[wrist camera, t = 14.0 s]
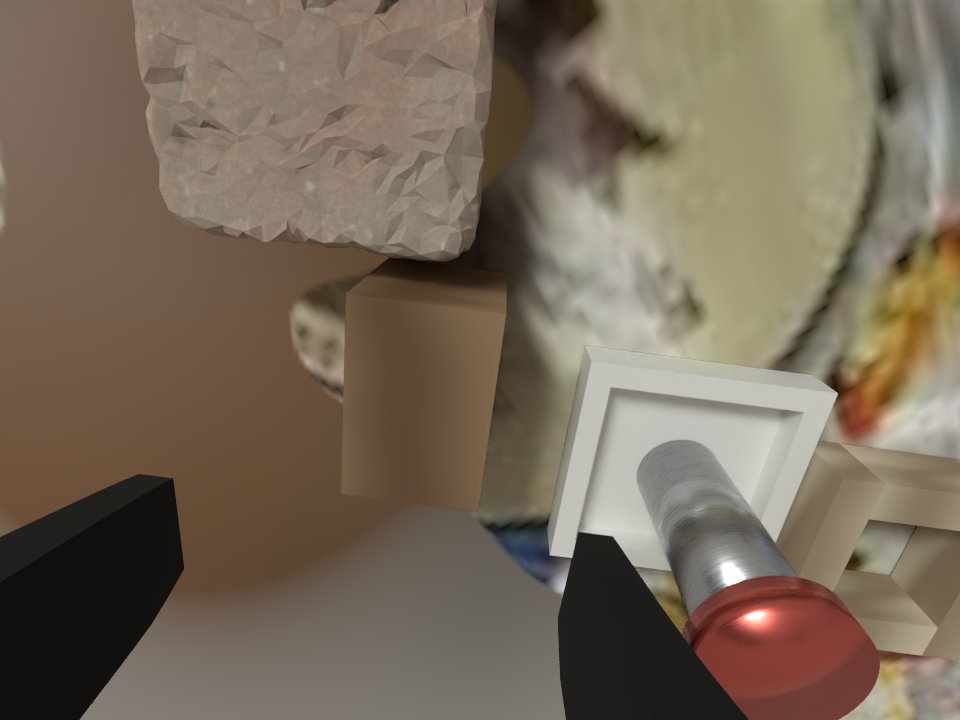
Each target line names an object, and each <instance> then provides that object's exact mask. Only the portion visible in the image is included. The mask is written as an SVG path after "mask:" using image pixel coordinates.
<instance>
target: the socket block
mask: <svg viewBox="0 0 960 720" xmlns="http://www.w3.org/2000/svg"><path fill="white" fill-rule="evenodd" d="M869 519H871V520H879V521H886V522H894V523H901V524H909V525H917V528H916V529H915V531H914V533H913V535H912V537H911V539H910V541H909V542H908V544H907V546H906V548H905V550H904V552H903V554H902V555H901V557H900V559H899V561H898V563H897V565H896V567H895V568H894V570H893V572H892V574H891V576H888V575H880V574H873V573H865V572H858V571H850V570H844V569H845V567H846V565H847V563H848V561H849V559H850V556H851V554H852V552H853V550H854V548H855V546H856V544H857V542H858V540H859V538H860V536H861V534H862V532H863V530H864V528H865V526H866V524H867V522H868V520H869ZM776 544H777V546H778V547H779V549H780V550H781V552H782V553H783V555H784V556H785V557H786V559H787V560H788V562H789V563H790V565H791V566H792V568H793V569H794V570H795V572H796V573H797V575H798V576H799V578H803V579H808V580H811V581H814V582H816V583H819V584H821V585H823V586H825V587H827V588H828V589H830V590H831V591H832V592H834V593H835V594H836V595H837V596H838V597H839V598H840V599H841V600H842V601H843V603H844V604H845V605H846V607H847V608H848V609H849V611H850V612H851V613H852V615H853V616H854V617H855V619H856V620H857V621H858V622H859V624H860V625H861V626H862V628H863V629H864V630H865V632H866V633H867V634H868V636H869V637H870V639H871V640H872V641H873V643H874V644H875V647H876V649H877V650H883V651H891V652H899V653H906V654H914V655H921V656H929V657H936V658H944V659H952V660H960V460H959V459H951V458H944V457H936V456H928V455H921V454H913V453H905V452H898V451H890V450H882V449H875V448H867V447H859V446H852V445H844V444H836V443H829V442H821V441H818V443H817V445H816V447H815V450H814V452H813V455H812V457H811V459H810V462H809V464H808V467H807V469H806V471H805V474H804V476H803V479H802V481H801V483H800V486H799V488H798V491H797V493H796V495H795V498H794V500H793V502H792V505H791V507H790V510H789V512H788V514H787V517H786V519H785V522H784V524H783V526H782V529H781V531H780V534H779V536H778V538H777V541H776Z"/></svg>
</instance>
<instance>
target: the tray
mask: <svg viewBox="0 0 960 720" xmlns="http://www.w3.org/2000/svg"><path fill="white" fill-rule="evenodd" d="M837 395H838V393H837V392H835V391H834V390H832V389H831V388H830V387H828V386H827V385H825V384H824V383H823V382H821V381H820V380H818V379H817V378H816V377H814V376H813V375H807V374H799V373H791V372H784V371H776V370H768V369H760V368H753V367H745V366H737V365H730V364H722V363H714V362H706V361H699V360H691V359H683V358H676V357H668V356H660V355H652V354H645V353H637V352H629V351H622V350H614V349H606V348H599V347H591V346H585V349H584V354H583V359H582V363H581V368H580V373H579V378H578V383H577V388H576V392H575V397H574V402H573V407H572V412H571V416H570V421H569V426H568V431H567V436H566V441H565V445H564V450H563V455H562V460H561V465H560V469H559V474H558V479H557V484H556V489H555V493H554V498H553V503H552V508H551V513H550V518H549V522H548V527H547V532H548V541H549V551H550V555H553V556H561V557H568V558H572V556H573V552H574V548H575V543H576V539H577V535H578V532H584V533H591V534H599V535H606V536H613V537H614V539H615V540H616V541H617V543H618V544H619V546H620V547H621V549H622V550H623V551H624V553H625V554H626V556H627V557H628V559H629V560H630V562H631V563H632V565H633V566H636V567H644V568H652V569H659V570H667V571H671V569H670V566H669V564H668V561H667V559H666V556H665V554H664V551H663V549H662V546H661V543H660V541H659V538H658V536H657V533H656V531H655V528H654V526H653V523H652V521H651V518H650V516H649V513H648V511H647V508H646V506H645V503H644V500H643V498H642V495H641V493H640V490H639V488H638V485H637V479H636V475H637V470H638V467H639V464H640V462H641V461H642V459H643V458H644V457H645V455H646V454H647V453H648V452H649V451H651V450H652V449H653V448H655V447H657V446H658V445H660V444H663V443H665V442H668V441H673V440H691V441H695V442H698V443H701V444H703V445H704V446H706V447H707V448H709V449H710V450H711V451H712V452H713V454H714V455H715V456H716V458H717V459H718V461H719V462H720V464H721V465H722V467H723V468H724V469H725V471H726V472H727V474H728V475H729V477H730V478H731V480H732V481H733V482H734V484H735V485H736V487H737V488H738V490H739V491H740V493H741V494H742V495H743V497H744V498H745V500H746V501H747V503H748V504H749V506H750V507H751V508H752V510H753V511H754V513H755V514H756V516H757V517H758V519H759V520H760V521H761V523H762V524H763V526H764V527H765V529H766V530H767V531H768V533H769V534H770V536H771V537H772V539H773V540H774V542H775V543H776V541H777V538H778V536H779V534H780V531H781V529H782V526H783V524H784V522H785V519H786V517H787V514H788V512H789V510H790V507H791V505H792V502H793V500H794V498H795V495H796V493H797V491H798V488H799V486H800V483H801V481H802V479H803V476H804V474H805V471H806V469H807V467H808V464H809V462H810V459H811V457H812V455H813V452H814V450H815V447H816V445H817V443H818V440H819V438H820V436H821V433H822V431H823V428H824V426H825V424H826V421H827V419H828V416H829V414H830V412H831V409H832V407H833V404H834V402H835V400H836V397H837Z"/></svg>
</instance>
